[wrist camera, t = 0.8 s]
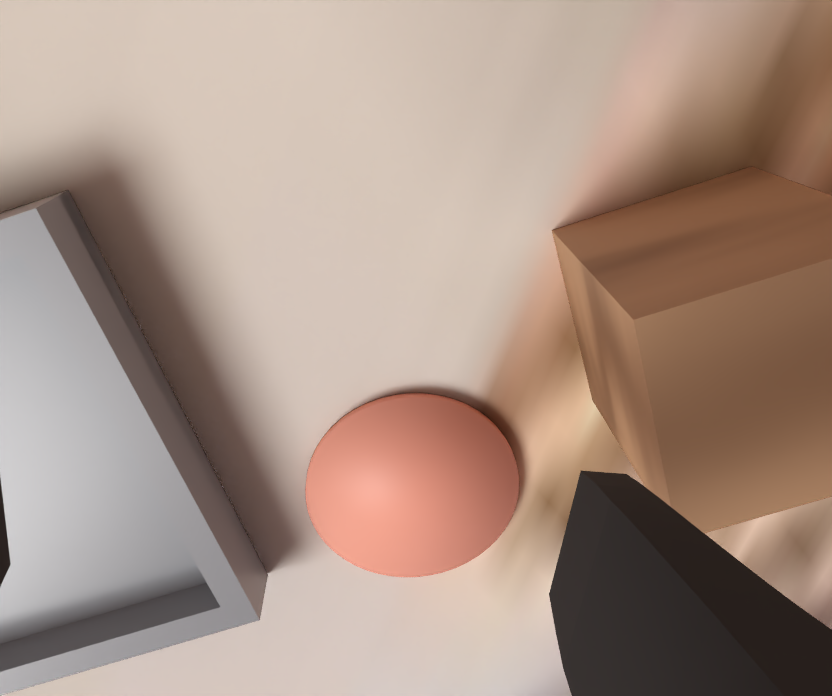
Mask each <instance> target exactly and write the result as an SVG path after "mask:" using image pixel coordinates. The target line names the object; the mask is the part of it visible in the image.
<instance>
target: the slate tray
mask: <svg viewBox="0 0 832 696" xmlns="http://www.w3.org/2000/svg"><path fill="white" fill-rule="evenodd" d="M0 478H1V487H2V495H3V504H4V512H5V521H6V529H7V538H8V546H9V555H10V563H11V565H10V567H9V569H8V571H7V573H6V575H5V578H4V580H3V582H2V584H1V586H0V696H1V695H5V694H8V693H11V692H15V691H18V690H22V689H25V688H29V687H32V686H35V685H39V684H42V683H46V682H49V681H53V680H56V679H59V678H63V677H66V676H70V675H73V674H77V673H80V672H83V671H87V670H90V669H94V668H97V667H101V666H104V665H107V664H111V663H114V662H118V661H121V660H124V659H128V658H131V657H135V656H138V655H142V654H145V653H148V652H152V651H155V650H159V649H162V648H166V647H169V646H172V645H176V644H179V643H183V642H186V641H190V640H193V639H196V638H200V637H203V636H207V635H210V634H214V633H217V632H220V631H224V630H227V629H231V628H234V627H238V626H241V625H244V624H248V623H251V622H255V621H258V620H260V615H261V610H262V604H263V599H264V593H265V587H266V582H267V576H268V574H267V572H266V570H265V568H264V566H263V565H262V563H261V561H260V559H259V557H258V555H257V553H256V551H255V549H254V547H253V545H252V543H251V541H250V540H249V538H248V536H247V534H246V532H245V530H244V528H243V526H242V524H241V522H240V520H239V518H238V516H237V514H236V513H235V511H234V509H233V507H232V505H231V503H230V501H229V499H228V497H227V495H226V493H225V491H224V489H223V487H222V486H221V484H220V482H219V480H218V478H217V476H216V474H215V472H214V470H213V468H212V466H211V464H210V462H209V461H208V459H207V457H206V455H205V453H204V451H203V449H202V447H201V445H200V443H199V441H198V439H197V437H196V435H195V434H194V432H193V430H192V428H191V426H190V424H189V422H188V420H187V418H186V416H185V414H184V412H183V410H182V408H181V407H180V405H179V403H178V401H177V399H176V397H175V395H174V393H173V391H172V389H171V387H170V385H169V383H168V382H167V380H166V378H165V376H164V374H163V372H162V370H161V368H160V366H159V364H158V362H157V360H156V358H155V356H154V355H153V353H152V351H151V349H150V347H149V345H148V343H147V341H146V339H145V337H144V335H143V333H142V331H141V329H140V328H139V326H138V324H137V322H136V320H135V318H134V316H133V314H132V312H131V310H130V308H129V306H128V304H127V303H126V301H125V299H124V297H123V295H122V293H121V291H120V289H119V287H118V285H117V283H116V281H115V279H114V277H113V276H112V274H111V272H110V270H109V268H108V266H107V264H106V262H105V260H104V258H103V256H102V254H101V252H100V250H99V249H98V247H97V245H96V243H95V241H94V239H93V237H92V235H91V233H90V231H89V229H88V227H87V225H86V224H85V222H84V220H83V218H82V216H81V214H80V212H79V210H78V208H77V206H76V204H75V202H74V200H73V198H72V197H71V195H70V193H69V191H68V190H67V191H65V192H62V193H59V194H56V195H53V196H50V197H47V198H44V199H41V200H38V201H35V202H32V203H29V204H26V205H23V206H20V207H17V208H15V209H12V210H9V211H6V212H3V213H0Z"/></svg>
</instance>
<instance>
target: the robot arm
mask: <svg viewBox="0 0 832 696" xmlns="http://www.w3.org/2000/svg"><path fill="white" fill-rule="evenodd" d="M10 565H11V563H10V555H9V546H8V538H7V529H6V521H5V512H4V504H3V495H2V487H1V478H0V586H1V584H2V582H3V580H4V578H5V575H6V573H7V571H8V569H9V567H10ZM549 596H550V602H551V607H552V613H553V618H554V624H555V630H556V635H557V640H558V645H559V650H560V654H561V659H562V664H563V669H564V672H565V675H566V678H567V681H568V685H569V688H570V691H571V694H572V696H832V630H831V629H830V628H828V627H827V626H826V625H824V624H823V623H821V622H820V621H818V620H817V619H816V618H814V617H813V616H811V615H810V614H809V613H807V612H806V611H804V610H803V609H802V608H800V607H799V606H797V605H796V604H795V603H793V602H792V601H791V600H789V599H788V598H787V597H785V596H784V595H783V594H781V593H780V592H779V591H777V590H776V589H775V588H773V587H772V586H771V585H769V584H768V583H767V582H765V581H764V580H763V579H762V578H760V577H759V576H758V575H756V574H755V573H754V572H752V571H751V570H750V569H749V568H747V567H746V566H745V565H743V564H742V563H741V562H740V561H738V560H737V559H736V558H734V557H733V556H732V555H731V554H729V553H728V552H727V551H726V550H724V549H723V548H722V547H721V546H719V545H718V544H717V543H716V542H714V541H713V540H712V539H710V538H709V537H708V536H707V535H705V534H704V533H703V532H702V531H700V530H699V529H698V528H697V527H695V526H694V525H693V524H692V523H690V522H689V521H688V520H687V519H685V518H684V517H683V516H682V515H680V514H679V513H678V512H677V511H675V510H674V509H673V508H672V507H670V506H669V505H668V504H667V503H665V502H664V501H663V500H661V499H660V498H659V497H658V496H656V495H655V494H654V493H652V492H651V491H650V490H648V489H647V488H646V487H644V486H643V485H642V484H640V483H639V482H637V481H636V480H634V479H633V478H631V477H630V476H628V475H627V474H617V473H604V472H591V471H581V473H580V476H579V480H578V484H577V488H576V492H575V496H574V500H573V504H572V508H571V511H570V515H569V519H568V523H567V527H566V531H565V535H564V539H563V543H562V546H561V550H560V554H559V558H558V562H557V566H556V570H555V574H554V578H553V581H552V585H551V589H550V593H549Z"/></svg>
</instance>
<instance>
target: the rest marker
mask: <svg viewBox="0 0 832 696" xmlns="http://www.w3.org/2000/svg"><path fill="white" fill-rule="evenodd" d="M305 491H306V503H307V508H308V513H309V515H310V518H311V521H312V523H313V525H314V527H315V529H316V531H317V532H318V534H319V535H320V537H321V538H322V539H323V540H324V542H325V543H326V544H327V545H328V546H329V547H330V548H331V549H332V550H333V551H334V552H335V553H337V554H338V555H339V556H341V557H342V558H343V559H345V560H347V561H348V562H350V563H352V564H354V565H356V566H358V567H360V568H363V569H365V570H368V571H371V572H374V573H378V574H383V575H388V576H396V577H420V576H428V575H433V574H438V573H442V572H445V571H448V570H451V569H454V568H457V567H459V566H461V565H463V564H465V563H467V562H469V561H470V560H472V559H474V558H475V557H477V556H479V555H480V554H481V553H482V552H484V551H485V550H486V549H488V548H489V547H490V546H491V545H492V544H493V543H494V542H495V541H496V540H497V539H498V537H499V536H500V535H501V534H502V532H503V531H504V530H505V528H506V526H507V525H508V523H509V521H510V520H511V517H512V515H513V513H514V510H515V508H516V504H517V500H518V494H519V473H518V469H517V464H516V461H515V458H514V455H513V452H512V450H511V447H510V445H509V443H508V442H507V440H506V438H505V436H504V435H503V434H502V432H501V431H500V430H499V429H498V427H497V426H496V425H495V424H494V423H493V422H492V421H491V420H490V419H489V418H487V417H486V416H485V415H483V414H482V413H481V412H479V411H478V410H476V409H475V408H473V407H471V406H469V405H467V404H465V403H463V402H460V401H457V400H454V399H452V398H448V397H444V396H439V395H433V394H424V393H407V394H399V395H392V396H388V397H384V398H380V399H377V400H374V401H372V402H369V403H366V404H364V405H362V406H360V407H358V408H356V409H355V410H353V411H351V412H350V413H348V414H347V415H345V416H344V417H343V418H341V419H340V420H339V421H338V422H337V423H336V424H334V425H333V426H332V427H331V428H330V429H329V431H328V432H327V433H326V434H325V435H324V436H323V438H322V439H321V441H320V442H319V444H318V446H317V447H316V449H315V451H314V453H313V456H312V458H311V461H310V464H309V468H308V472H307V480H306V489H305Z"/></svg>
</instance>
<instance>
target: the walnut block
mask: <svg viewBox="0 0 832 696" xmlns="http://www.w3.org/2000/svg"><path fill="white" fill-rule="evenodd" d="M552 233H553V237H554V242H555V246H556V250H557V254H558V258H559V262H560V267H561V271H562V275H563V279H564V283H565V287H566V292H567V296H568V300H569V304H570V308H571V313H572V317H573V321H574V325H575V329H576V333H577V338H578V342H579V346H580V350H581V354H582V358H583V363H584V367H585V371H586V375H587V379H588V383H589V388H590V392H591V396H592V400H593V402H594V403H595V405H596V407H597V408H598V410H599V412H600V413H601V415H602V416H603V418H604V420H605V421H606V423H607V425H608V426H609V428H610V430H611V431H612V433H613V435H614V436H615V438H616V439H617V441H618V443H619V444H620V446H621V448H622V449H623V451H624V453H625V454H626V456H627V458H628V459H629V461H630V463H631V464H632V466H633V467H634V469H635V471H636V472H637V474H638V476H639V477H640V479H641V481H642V482H643V484H644V486H645V487H646V488H647V489H648V490H650V491H651V492H652V493H654V494H655V495H656V496H658V497H659V498H660V499H661V500H663V501H664V502H665V503H667V504H668V505H669V506H670V507H672V508H673V509H674V510H675V511H677V512H678V513H679V514H680V515H682V516H683V517H684V518H685V519H687V520H688V521H689V522H690V523H692V524H693V525H694V526H695V527H697V528H698V529H699V530H700V531H702V532H703V533H707V532H710V531H714V530H717V529H721V528H724V527H728V526H731V525H734V524H738V523H741V522H745V521H748V520H752V519H755V518H759V517H762V516H766V515H769V514H773V513H776V512H780V511H783V510H787V509H790V508H794V507H797V506H801V505H804V504H807V503H811V502H814V501H818V500H821V499H825V498H828V497H832V195H829V194H826V193H823V192H821V191H818V190H815V189H812V188H810V187H807V186H804V185H801V184H799V183H796V182H793V181H790V180H788V179H785V178H782V177H779V176H777V175H774V174H771V173H768V172H765V171H763V170H760V169H757V168H754V167H752V166H751V167H748V168H745V169H742V170H739V171H735V172H732V173H729V174H726V175H723V176H720V177H717V178H714V179H711V180H707V181H704V182H701V183H698V184H695V185H692V186H689V187H686V188H682V189H679V190H676V191H673V192H670V193H667V194H664V195H661V196H658V197H654V198H651V199H648V200H645V201H642V202H639V203H636V204H633V205H629V206H626V207H623V208H620V209H617V210H614V211H611V212H608V213H605V214H601V215H598V216H595V217H592V218H589V219H586V220H583V221H580V222H576V223H573V224H570V225H567V226H564V227H561V228H558V229H555V230H552Z"/></svg>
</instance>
